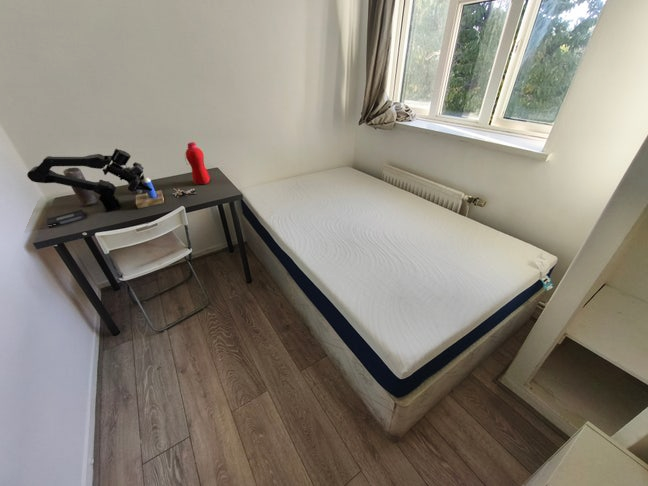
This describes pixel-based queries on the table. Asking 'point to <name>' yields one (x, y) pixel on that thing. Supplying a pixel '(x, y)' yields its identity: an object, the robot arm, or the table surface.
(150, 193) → the white topped blue rod
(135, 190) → the beverage cup
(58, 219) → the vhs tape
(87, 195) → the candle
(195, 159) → the water bottle
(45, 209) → the table surface
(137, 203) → the holder
